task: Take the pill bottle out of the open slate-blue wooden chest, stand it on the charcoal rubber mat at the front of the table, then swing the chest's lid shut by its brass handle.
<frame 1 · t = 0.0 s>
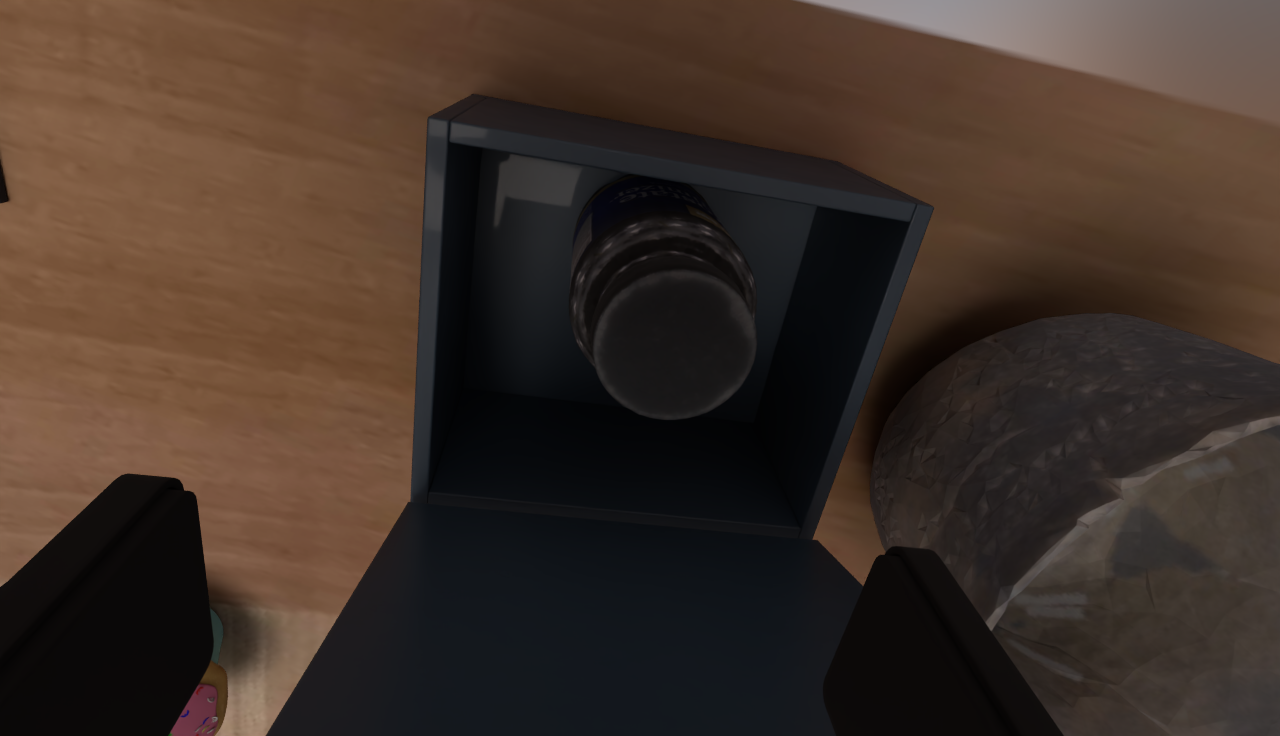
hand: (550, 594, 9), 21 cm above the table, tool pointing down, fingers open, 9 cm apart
lid: (636, 711, 18), point 16 cm above the table, hinge at 72.0°
pill bottle: (643, 241, 29), resting on chest
chest: (634, 282, 30), on the table
bowl: (981, 408, 35), on the table
cupcake: (182, 622, 37), on the table
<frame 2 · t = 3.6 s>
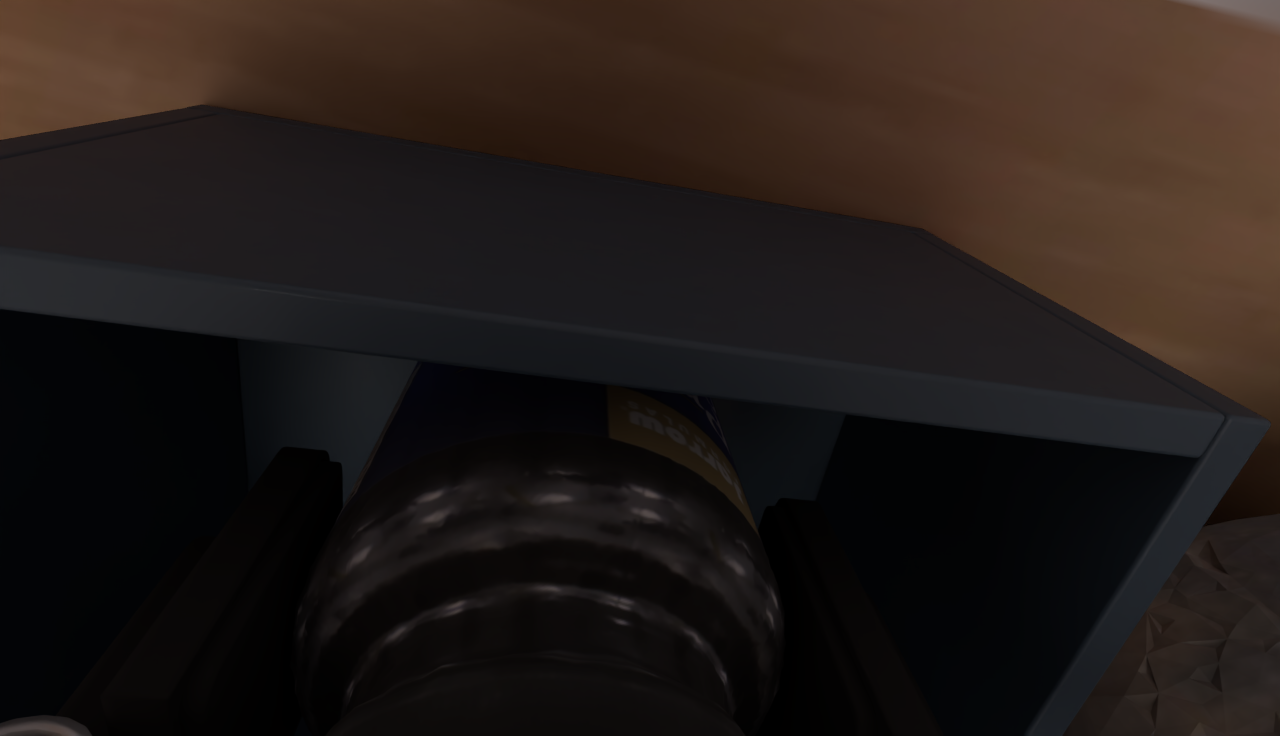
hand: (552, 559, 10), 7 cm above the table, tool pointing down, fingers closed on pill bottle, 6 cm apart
pill bottle: (561, 374, 16), resting on chest, touching gripper
chest: (552, 437, 17), on the table
bowl: (1128, 605, 22), on the table
when the fingers open (6 cm above the table, at t = 12.6 s): pill bottle stays where it is, resting on mat.
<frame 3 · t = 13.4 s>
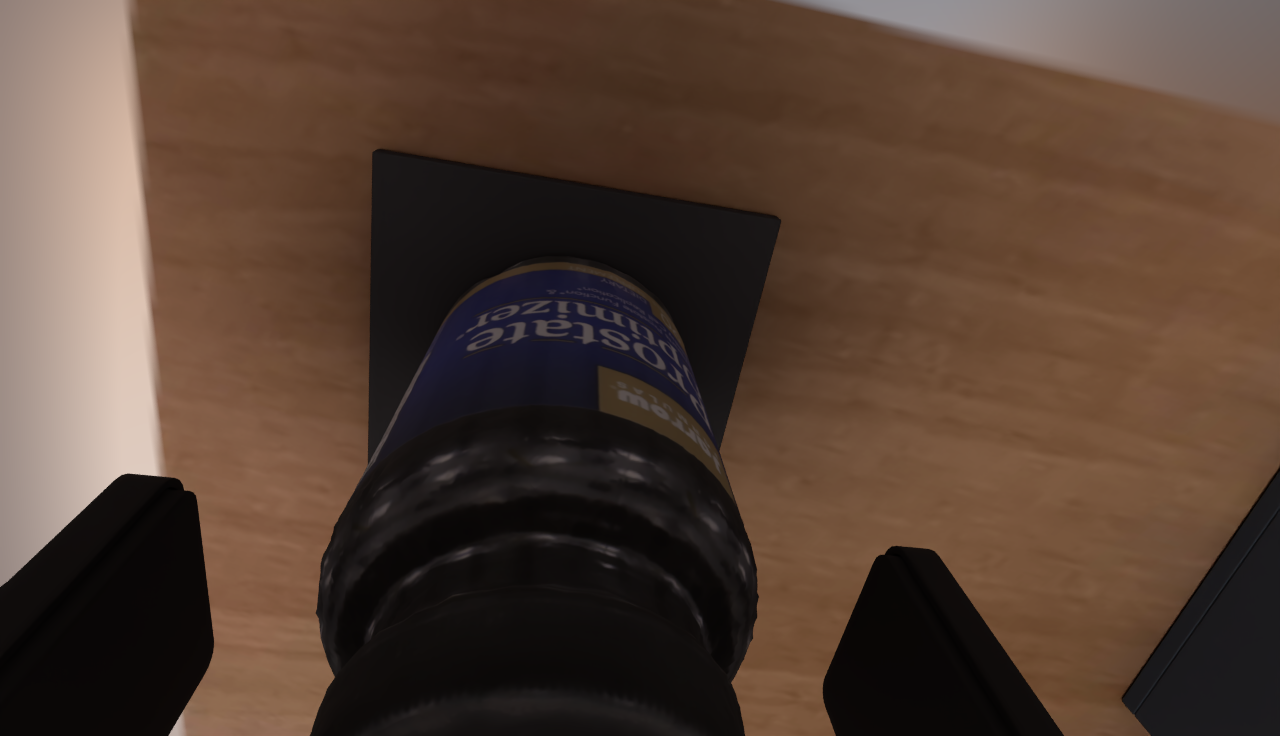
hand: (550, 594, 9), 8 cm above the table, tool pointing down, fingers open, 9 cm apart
pill bottle: (560, 368, 17), resting on mat
mat: (560, 364, 17), on the table
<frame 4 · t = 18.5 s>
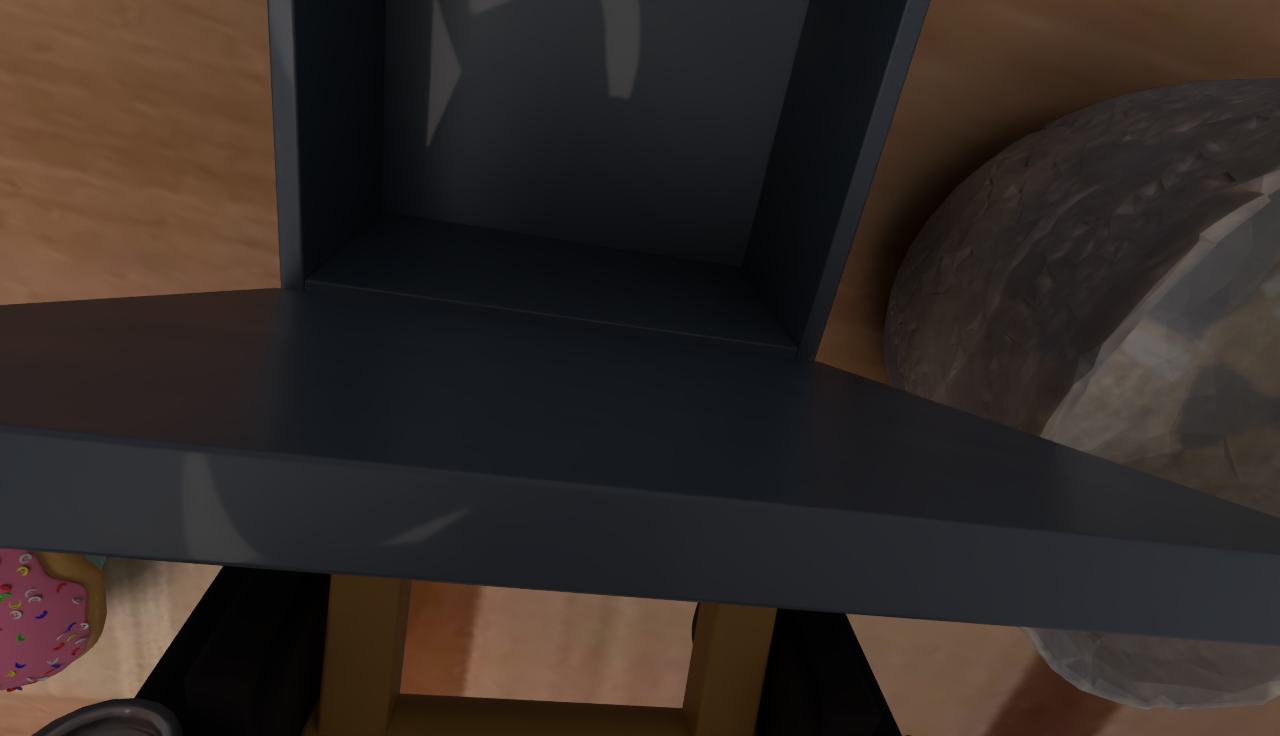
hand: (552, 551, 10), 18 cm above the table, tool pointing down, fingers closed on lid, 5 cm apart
lid: (552, 503, 12), point 16 cm above the table, hinge at 72.0°, touching gripper
chest: (591, 73, 24), on the table
bowl: (1016, 258, 29), on the table
cupcake: (63, 523, 31), on the table
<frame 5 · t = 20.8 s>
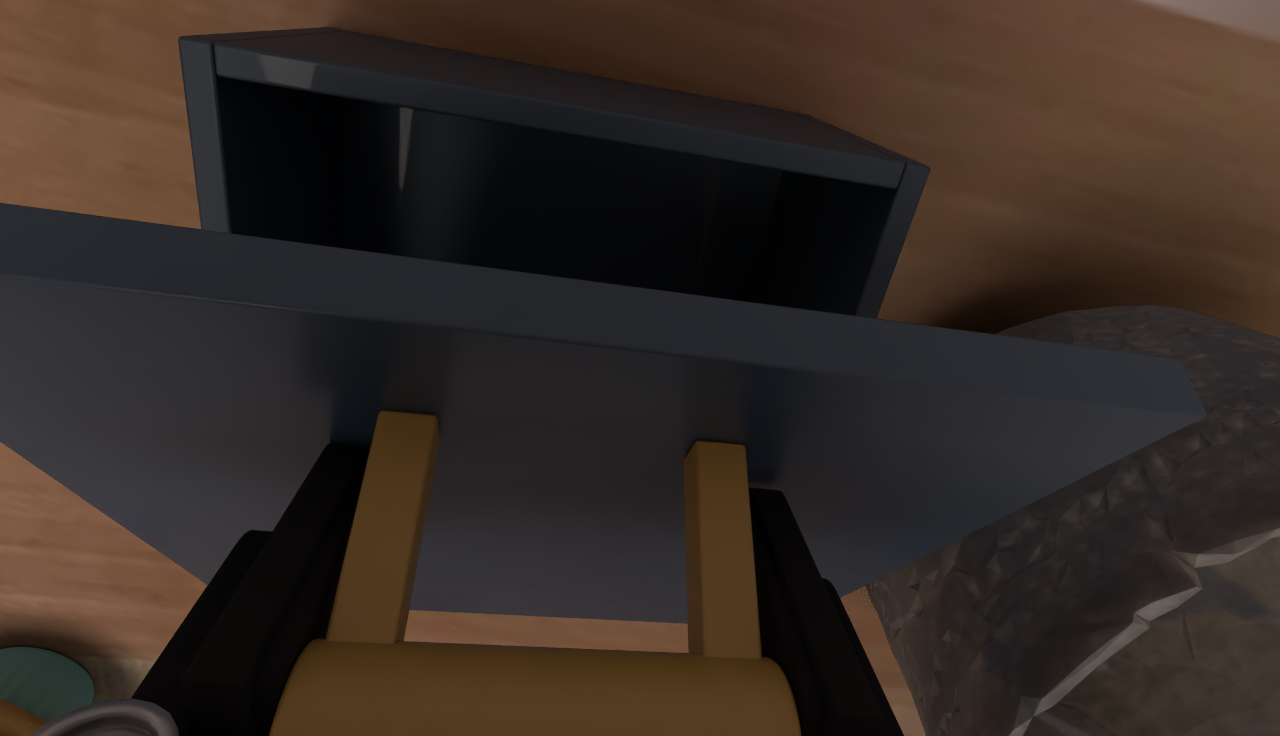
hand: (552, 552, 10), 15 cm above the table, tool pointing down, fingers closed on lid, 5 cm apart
lid: (533, 641, 12), point 15 cm above the table, hinge at 31.1°, touching gripper
chest: (556, 271, 24), on the table
bowl: (984, 415, 29), on the table
cupcake: (44, 677, 31), on the table
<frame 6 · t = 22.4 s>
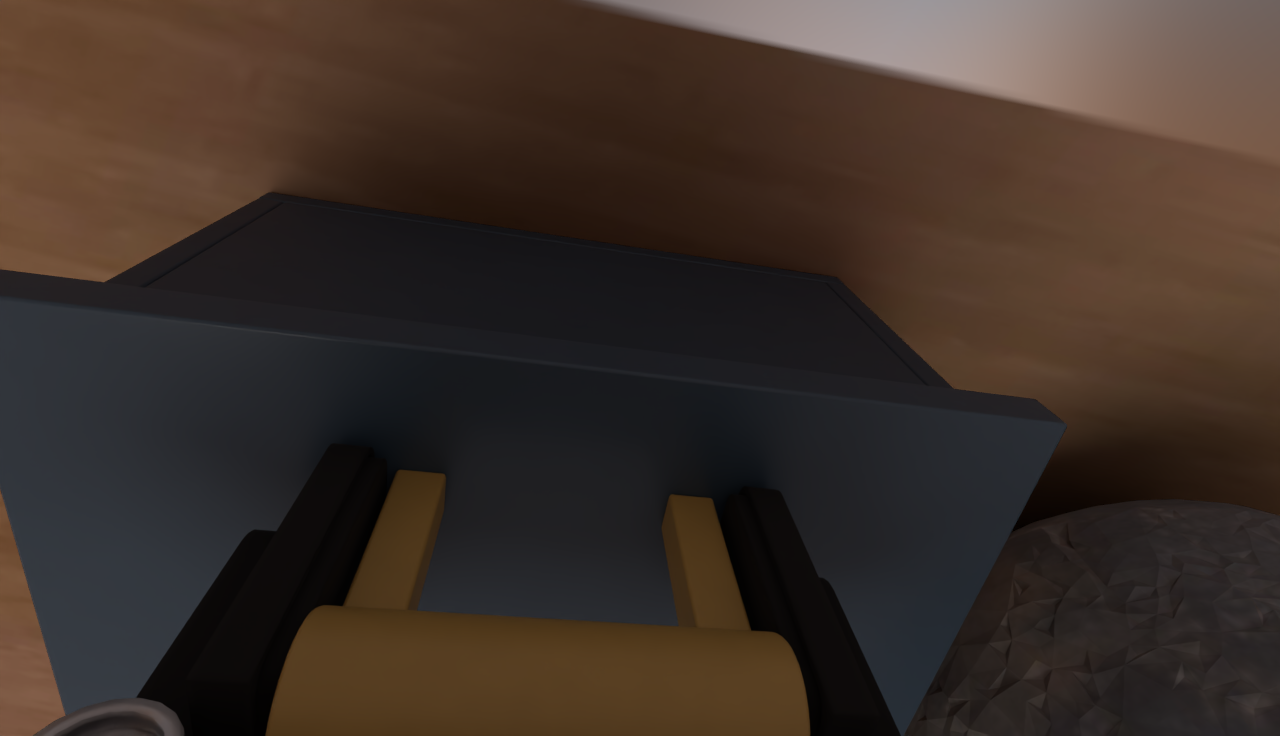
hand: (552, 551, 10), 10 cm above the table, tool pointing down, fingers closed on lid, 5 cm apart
chest: (543, 443, 21), on the table
bowl: (1030, 578, 26), on the table
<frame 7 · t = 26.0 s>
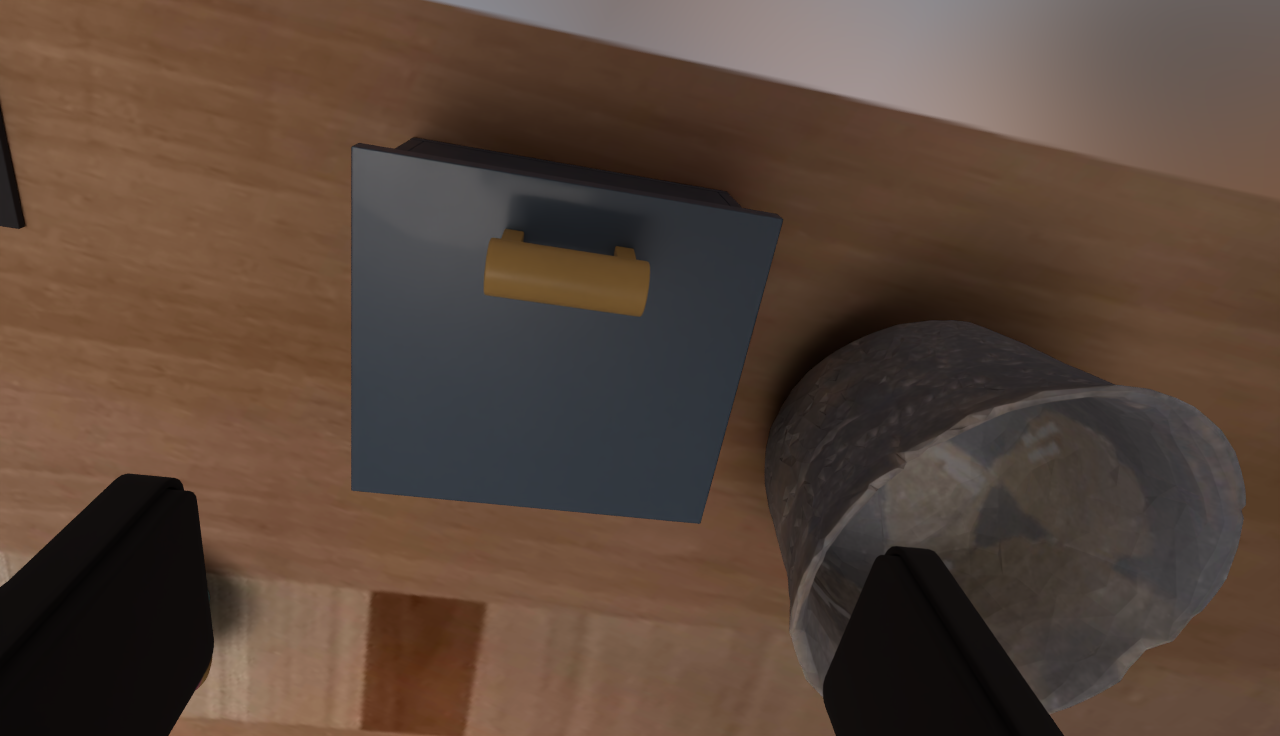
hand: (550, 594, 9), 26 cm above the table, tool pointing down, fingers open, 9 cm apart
lid: (551, 384, 25), point 11 cm above the table, hinge at -0.2°, touching chest
chest: (558, 293, 35), on the table
bowl: (869, 401, 40), on the table
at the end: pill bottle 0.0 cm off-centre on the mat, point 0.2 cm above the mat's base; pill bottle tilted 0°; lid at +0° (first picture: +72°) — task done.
